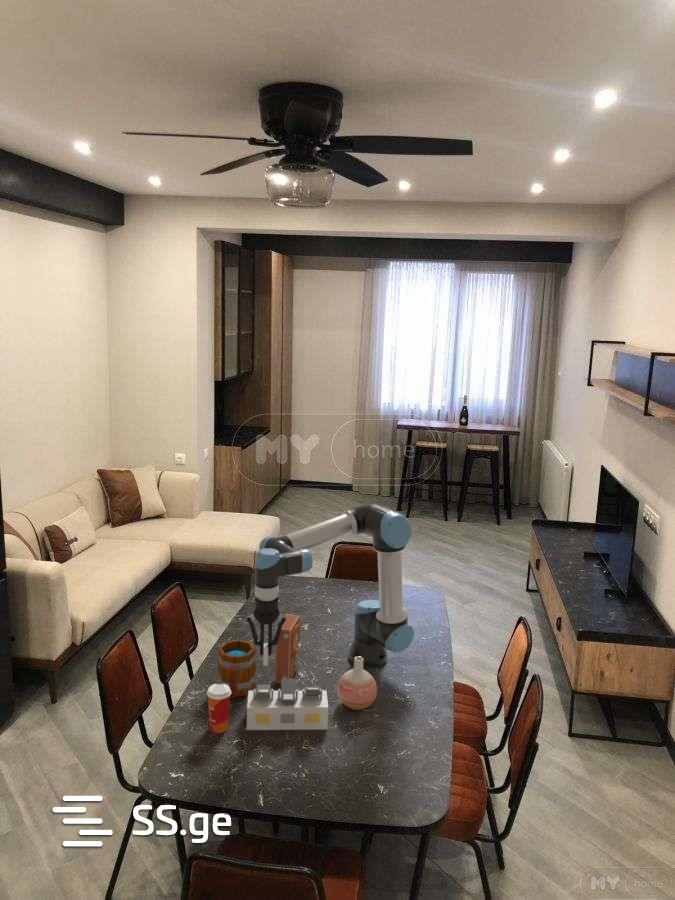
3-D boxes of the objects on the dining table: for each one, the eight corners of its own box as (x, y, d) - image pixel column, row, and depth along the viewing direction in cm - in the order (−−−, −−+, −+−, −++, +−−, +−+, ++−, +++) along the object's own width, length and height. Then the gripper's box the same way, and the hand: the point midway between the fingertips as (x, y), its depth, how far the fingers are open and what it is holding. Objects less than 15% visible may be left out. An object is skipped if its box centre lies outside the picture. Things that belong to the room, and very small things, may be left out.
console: (325, 711, 238) (326, 681, 236) (327, 730, 228) (328, 698, 226) (248, 712, 236) (248, 681, 234) (246, 730, 226) (247, 699, 224)
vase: (348, 720, 234) (350, 671, 231) (329, 699, 246) (331, 653, 242) (383, 711, 241) (386, 663, 237) (363, 691, 252) (366, 645, 249)
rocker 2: (295, 681, 235) (295, 677, 234) (295, 703, 227) (295, 699, 226) (280, 682, 234) (280, 678, 233) (280, 703, 227) (280, 699, 226)
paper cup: (207, 721, 230) (208, 682, 227) (231, 721, 231) (232, 682, 228) (205, 735, 222) (205, 695, 220) (229, 735, 223) (230, 695, 220)
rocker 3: (318, 691, 235) (318, 685, 236) (320, 695, 227) (320, 689, 227) (304, 691, 235) (304, 686, 235) (305, 695, 226) (305, 689, 227)
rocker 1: (270, 689, 234) (270, 683, 234) (270, 697, 225) (270, 691, 225) (256, 689, 234) (256, 683, 234) (255, 697, 225) (255, 691, 225)
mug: (220, 676, 258) (220, 638, 255) (257, 677, 258) (257, 639, 255) (211, 706, 239) (212, 666, 235) (251, 707, 239) (252, 667, 236)
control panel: (300, 666, 267) (289, 687, 253) (282, 664, 269) (271, 684, 254) (302, 614, 263) (291, 631, 248) (284, 611, 264) (272, 629, 250)
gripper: (286, 591, 231) (285, 657, 236) (246, 591, 230) (246, 657, 235) (287, 601, 224) (285, 669, 229) (245, 601, 222) (245, 669, 227)
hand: (265, 663), depth 232 cm, fingers closed
